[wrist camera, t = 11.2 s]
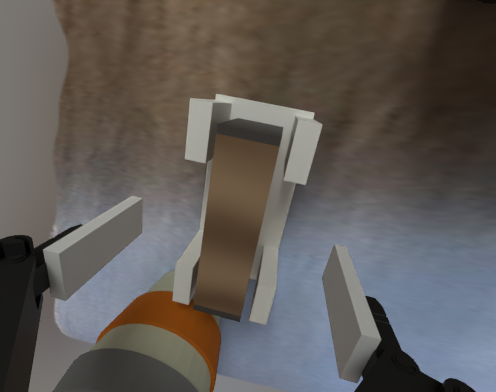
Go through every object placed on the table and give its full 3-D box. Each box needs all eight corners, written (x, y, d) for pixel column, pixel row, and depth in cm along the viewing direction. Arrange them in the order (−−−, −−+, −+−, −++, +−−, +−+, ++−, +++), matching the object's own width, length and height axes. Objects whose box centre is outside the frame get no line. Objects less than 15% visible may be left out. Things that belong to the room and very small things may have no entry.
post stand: (221, 94, 23) (190, 89, 16) (312, 112, 22) (324, 116, 15) (200, 254, 30) (172, 304, 22) (270, 271, 29) (264, 329, 22)
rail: (238, 117, 22) (217, 123, 15) (283, 127, 21) (281, 136, 15) (215, 260, 27) (193, 309, 21) (250, 269, 27) (239, 321, 20)
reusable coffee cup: (231, 257, 29) (180, 396, 15) (241, 337, 33) (208, 504, 19) (134, 255, 31) (11, 377, 17) (154, 331, 35) (69, 478, 21)
